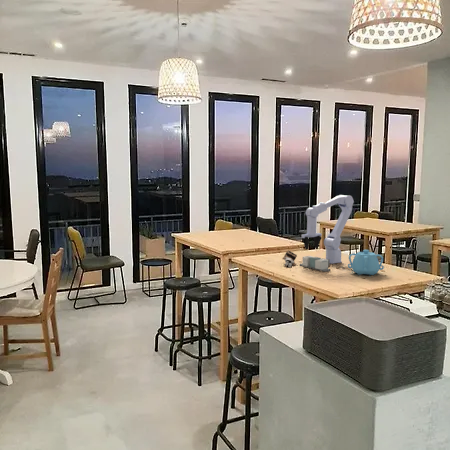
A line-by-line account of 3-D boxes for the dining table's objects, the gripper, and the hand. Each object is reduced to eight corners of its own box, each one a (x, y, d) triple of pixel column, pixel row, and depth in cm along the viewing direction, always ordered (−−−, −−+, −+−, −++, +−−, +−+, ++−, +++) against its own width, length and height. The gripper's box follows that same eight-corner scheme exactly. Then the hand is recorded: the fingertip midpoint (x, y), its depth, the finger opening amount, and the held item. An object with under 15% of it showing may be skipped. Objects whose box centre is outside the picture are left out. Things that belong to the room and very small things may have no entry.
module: (315, 265, 276) (315, 256, 275) (320, 267, 272) (320, 257, 271) (310, 266, 274) (310, 257, 274) (315, 267, 270) (315, 258, 269)
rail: (305, 264, 284) (305, 262, 284) (330, 270, 265) (330, 269, 265) (299, 265, 282) (299, 263, 282) (323, 271, 263) (323, 270, 263)
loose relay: (322, 264, 285) (322, 258, 284) (329, 265, 281) (329, 259, 281) (318, 265, 281) (318, 259, 281) (325, 266, 278) (325, 260, 277)
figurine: (284, 257, 275) (286, 247, 289) (277, 267, 279) (280, 257, 292) (297, 264, 275) (299, 254, 289) (290, 274, 278) (293, 264, 292)
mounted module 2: (322, 267, 272) (323, 258, 271) (328, 268, 268) (328, 259, 267) (315, 268, 269) (315, 259, 268) (320, 269, 265) (320, 261, 264)
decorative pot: (386, 275, 254) (387, 251, 252) (363, 277, 248) (363, 253, 247) (367, 269, 269) (368, 246, 268) (344, 271, 263) (345, 248, 262)
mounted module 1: (310, 263, 282) (310, 255, 281) (315, 265, 278) (315, 256, 277) (302, 264, 279) (302, 256, 278) (307, 266, 275) (307, 257, 274)
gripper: (306, 228, 276) (306, 250, 277) (325, 226, 283) (324, 248, 284) (299, 227, 282) (299, 248, 283) (317, 225, 289) (317, 246, 290)
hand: (311, 248), depth 284 cm, fingers open, 7 cm apart
